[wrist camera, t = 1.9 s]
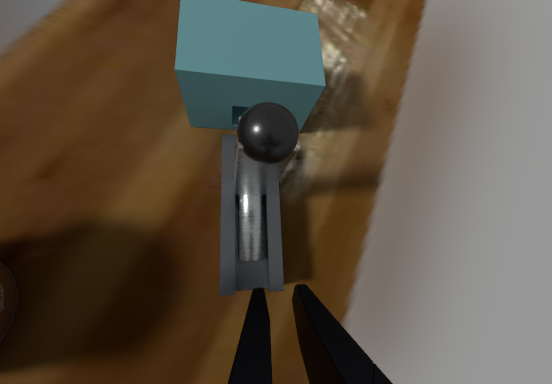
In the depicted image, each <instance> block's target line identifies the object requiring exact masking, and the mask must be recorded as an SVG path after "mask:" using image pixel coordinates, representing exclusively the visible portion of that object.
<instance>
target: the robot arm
mask: <svg viewBox="0 0 552 384" xmlns="http://www.w3.org/2000/svg"><path fill="white" fill-rule="evenodd" d="M292 303H293V310H294V316H295V322H296V328H297V335H298V340H299V345H300V350H301V353H302V357H303V361H304V365H305V368H306V372H307V376H308V379H309V383H310V384H392V383H391V381H390V380H389V379H388V378H387V377H386V376H385V375H384V374H383V373H382V371H381V370H380V369H379V368H378V367H377V365H376V364H374V363H373V361H372V360H371V359H370V358H369V357H368V355H367V354H366V353H365V352H364V351H363V350H362V348H361V347H360V346H359V345H358V344H357V343H356V341H355V340H354V339H353V338H352V337H351V336H350V335H349V333H348V332H347V331H346V330H345V329H344V328H343V327H342V325H341V324H340V323H339V322H338V321H337V320H336V319H335V317H334V316H333V315H332V314H331V313H330V312H329V310H328V309H327V308H326V307H325V306H324V305H323V304H322V302H321V301H320V300H319V299H318V298H317V297H316V296H315V294H314V293H313V292H312V291H311V290H310V289H309V287H308V286H307V285H305V284H297V285H295V288H294V293H293V297H292ZM228 384H272V364H271V337H270V318H269V312H268V307H267V302H266V297H265V291H264V288H263V287H256V288H253V291H252V294H251V298H250V302H249V306H248V309H247V313H246V317H245V321H244V324H243V328H242V332H241V336H240V339H239V343H238V347H237V351H236V355H235V358H234V362H233V366H232V370H231V373H230V377H229V381H228Z"/></svg>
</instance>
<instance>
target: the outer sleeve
mask: <svg viewBox="0 0 552 384" xmlns="http://www.w3.org/2000/svg"><path fill="white" fill-rule="evenodd" d="M236 148H237V146H235V135H222V183H221V237H220V290H219V296H221V295H234V294H235V291H240V290H253V288H256V287H263V288H264V289H267V290H268V291H269V292H273V291H284V278H283V258H282V238H281V218H280V198H279V179H278V180H277V182H276V183H275V185H274V187H273V188H272V190H271V191H270V193H269V194H268V195H262V205H263V239H264V260H257V261H238V194H234V172H235V160H236Z"/></svg>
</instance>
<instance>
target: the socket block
mask: <svg viewBox="0 0 552 384" xmlns="http://www.w3.org/2000/svg"><path fill="white" fill-rule="evenodd" d="M175 72H176V76H177V79H178V83H179V86H180V90H181V94H182V97H183V101H184V104H185V108H186V111H187V115H188V119H189V122H190V126H191V127H204V128H219V129H235V130H237V128H238V123H239V117H241V116H242V115H243V113H244V112H245V111H246V110H247V109H248V108H249V107H251V106H252V105H254V104H256V103H258V102H263V101H273V102H277V103H280V104H282V105H283V106H285V107H286V108H287V109H289V110H290V112H291V113H292V114H293V115H294V117H295V119H296V122H297V125H298V131H299V132H300V130H301V128H302V127H303V125H304V123H305V121H306V120H307V118H308V116H309V114H310V113H311V111H312V109H313V107H314V106H315V104H316V102H317V100H318V99H319V97H320V95H321V93H322V92H323V90H324V88H325V86H326V84H325V76H324V68H323V59H322V51H321V43H320V34H319V26H318V17H317V14H313V13H307V12H302V11H296V10H290V9H284V8H279V7H273V6H267V5H262V4H256V3H250V2H244V1H239V0H181V3H180V15H179V26H178V38H177V49H176V61H175Z"/></svg>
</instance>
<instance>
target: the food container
mask: <svg viewBox="0 0 552 384" xmlns="http://www.w3.org/2000/svg"><path fill="white" fill-rule="evenodd" d="M17 306H18V288H17V284H16V280H15V278H14V276H13V274H12V273H11V271H10V270H9V269H8V268H7V267H6V266H5V265H4V264H3V263H2V262H0V342H1V340H2V339H3V337H4V336H5V334H6V333H7V331H8V330H9V328H10V327H11V325H12V322H13V319H14V315H15V312H16V309H17Z"/></svg>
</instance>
